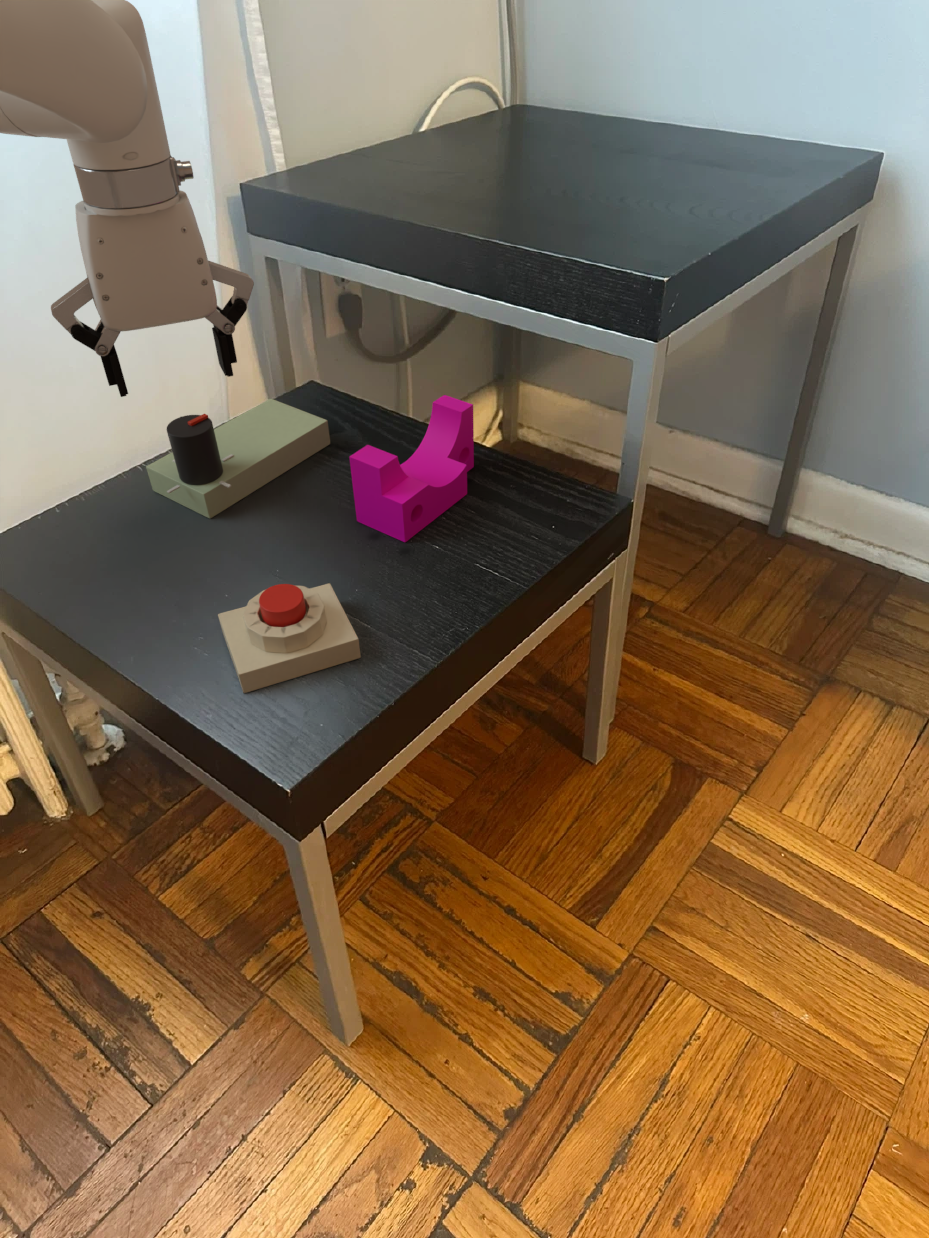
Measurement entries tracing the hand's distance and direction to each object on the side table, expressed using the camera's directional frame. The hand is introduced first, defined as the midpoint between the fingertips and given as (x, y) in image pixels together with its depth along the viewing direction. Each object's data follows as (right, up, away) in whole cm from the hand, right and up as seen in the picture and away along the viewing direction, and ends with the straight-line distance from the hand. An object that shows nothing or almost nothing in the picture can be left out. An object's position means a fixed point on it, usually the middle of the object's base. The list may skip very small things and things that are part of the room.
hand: (175, 380), depth 83 cm
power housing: (+12, -25, -7) cm, 28 cm away
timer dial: (0, -7, +8) cm, 11 cm away
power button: (+12, -22, -10) cm, 27 cm away
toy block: (+23, -10, +9) cm, 27 cm away
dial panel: (+3, -6, +13) cm, 15 cm away
